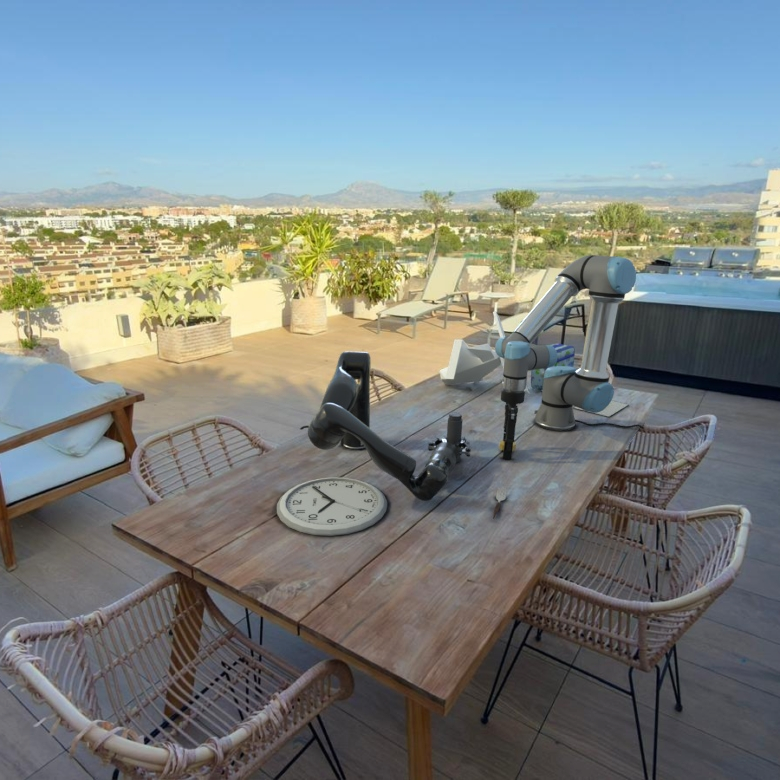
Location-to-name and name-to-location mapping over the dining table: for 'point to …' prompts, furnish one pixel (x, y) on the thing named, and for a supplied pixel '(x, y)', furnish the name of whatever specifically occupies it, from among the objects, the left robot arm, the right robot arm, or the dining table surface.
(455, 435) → the dark grey cylinder
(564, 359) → the lunch box
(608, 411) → the invitation card
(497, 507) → the fork
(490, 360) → the white plastic object
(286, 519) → the wall clock
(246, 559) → the dining table surface
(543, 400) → the right robot arm
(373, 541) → the dining table surface
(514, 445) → the lid
